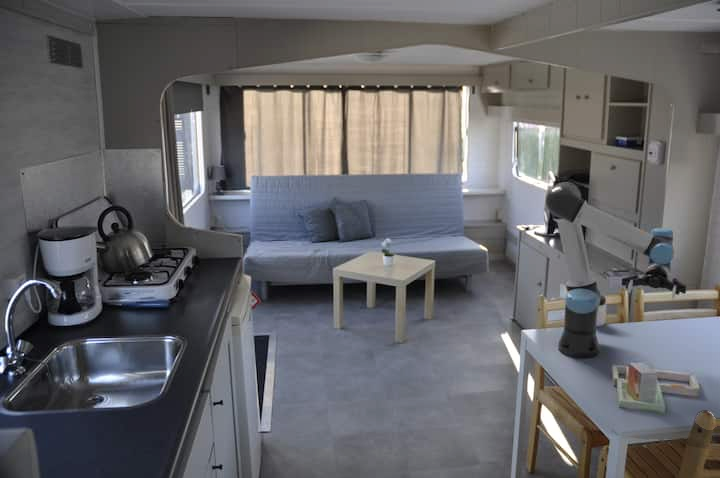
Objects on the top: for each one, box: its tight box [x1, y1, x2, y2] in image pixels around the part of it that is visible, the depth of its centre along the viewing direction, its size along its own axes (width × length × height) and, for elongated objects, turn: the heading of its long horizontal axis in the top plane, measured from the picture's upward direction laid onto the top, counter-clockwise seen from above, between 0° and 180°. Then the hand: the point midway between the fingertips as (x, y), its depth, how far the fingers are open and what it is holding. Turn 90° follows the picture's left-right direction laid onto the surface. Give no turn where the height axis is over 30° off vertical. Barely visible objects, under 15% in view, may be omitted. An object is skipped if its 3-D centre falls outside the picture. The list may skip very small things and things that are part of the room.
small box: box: [627, 362, 659, 403], centre depth 195 cm, size 8×6×10 cm
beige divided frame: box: [611, 364, 701, 398], centre depth 207 cm, size 26×12×3 cm, turn 70°
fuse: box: [624, 366, 629, 379], centre depth 209 cm, size 5×7×4 cm, turn 160°
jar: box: [596, 294, 607, 327], centre depth 262 cm, size 9×8×12 cm
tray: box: [616, 380, 666, 415], centre depth 196 cm, size 13×15×2 cm
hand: (650, 291), depth 204 cm, fingers open, 13 cm apart
